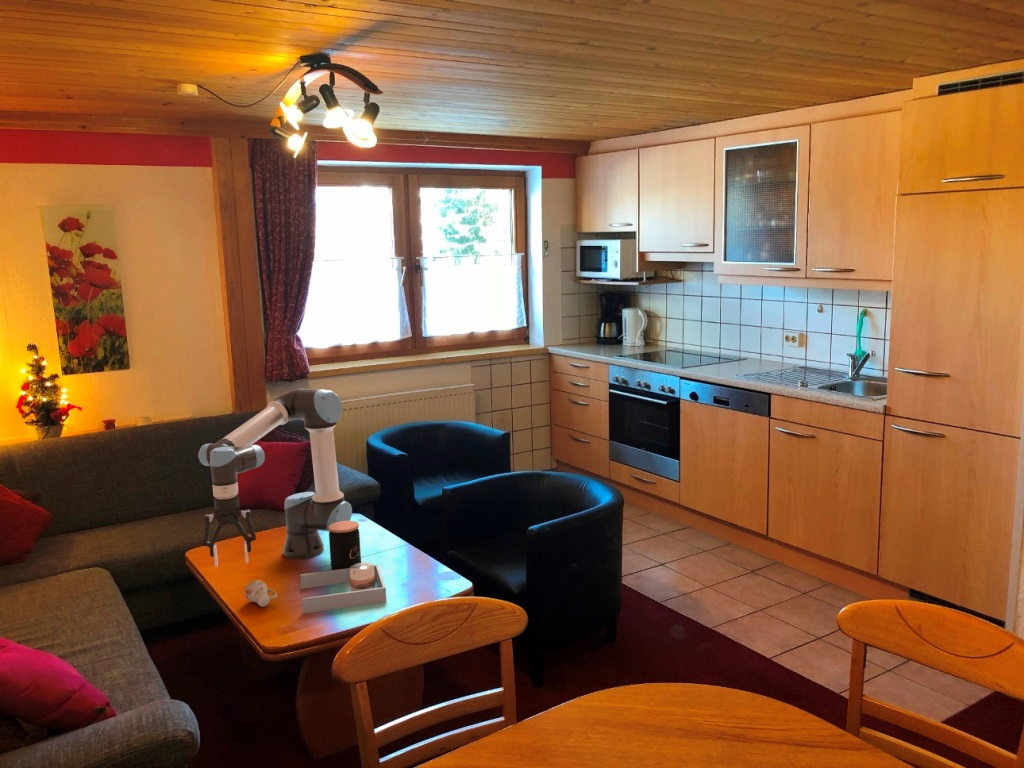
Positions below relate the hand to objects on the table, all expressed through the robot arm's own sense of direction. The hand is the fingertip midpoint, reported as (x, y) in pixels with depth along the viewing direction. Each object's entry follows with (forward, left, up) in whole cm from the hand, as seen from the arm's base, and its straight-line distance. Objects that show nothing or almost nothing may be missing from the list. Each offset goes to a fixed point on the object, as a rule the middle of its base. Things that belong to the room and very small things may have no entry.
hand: (231, 563), depth 263 cm
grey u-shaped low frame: (+1, +34, -15) cm, 37 cm away
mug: (0, +11, -15) cm, 19 cm away
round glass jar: (+1, +41, -15) cm, 44 cm away
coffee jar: (-18, +37, -16) cm, 44 cm away
